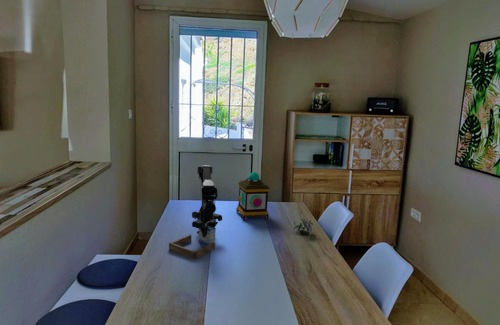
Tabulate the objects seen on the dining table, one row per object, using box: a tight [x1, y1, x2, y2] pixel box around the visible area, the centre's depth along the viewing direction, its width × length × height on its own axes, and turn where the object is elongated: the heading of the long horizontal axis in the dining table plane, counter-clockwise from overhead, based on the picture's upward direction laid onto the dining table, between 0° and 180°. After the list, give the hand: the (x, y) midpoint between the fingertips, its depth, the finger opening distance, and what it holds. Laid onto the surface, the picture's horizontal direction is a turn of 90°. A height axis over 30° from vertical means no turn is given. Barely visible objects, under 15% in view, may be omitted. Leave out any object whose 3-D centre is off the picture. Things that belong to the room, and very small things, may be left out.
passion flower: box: [293, 217, 314, 236], centre depth 214 cm, size 11×11×12 cm
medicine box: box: [198, 225, 216, 245], centre depth 193 cm, size 8×4×9 cm, turn 57°
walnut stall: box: [168, 234, 216, 260], centre depth 184 cm, size 16×17×4 cm
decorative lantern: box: [235, 171, 271, 221], centre depth 238 cm, size 20×20×30 cm
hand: (207, 236), depth 193 cm, fingers closed on medicine box, 4 cm apart
